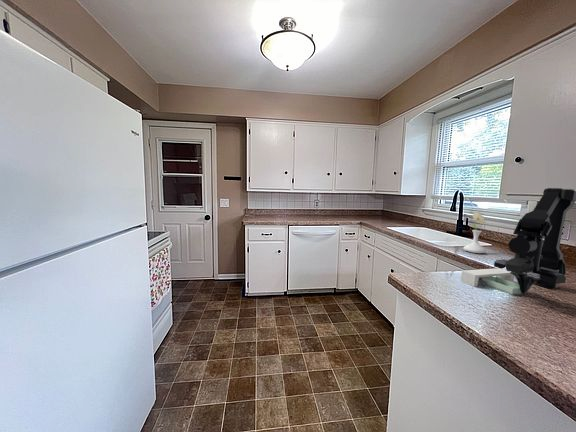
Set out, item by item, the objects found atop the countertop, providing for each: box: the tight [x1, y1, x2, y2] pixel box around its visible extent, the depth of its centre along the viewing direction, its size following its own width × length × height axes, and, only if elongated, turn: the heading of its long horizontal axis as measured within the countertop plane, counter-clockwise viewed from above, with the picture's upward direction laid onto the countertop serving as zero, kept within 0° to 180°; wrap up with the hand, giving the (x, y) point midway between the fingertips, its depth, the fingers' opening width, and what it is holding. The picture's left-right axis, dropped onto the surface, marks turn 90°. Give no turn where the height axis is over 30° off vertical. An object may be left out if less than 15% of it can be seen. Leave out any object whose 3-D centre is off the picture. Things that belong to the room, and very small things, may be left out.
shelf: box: [460, 267, 515, 287], centre depth 103 cm, size 22×6×5 cm, turn 106°
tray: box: [482, 276, 528, 296], centre depth 97 cm, size 8×11×2 cm
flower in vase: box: [463, 212, 487, 254], centre depth 155 cm, size 13×11×25 cm
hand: (523, 293), depth 91 cm, fingers closed
